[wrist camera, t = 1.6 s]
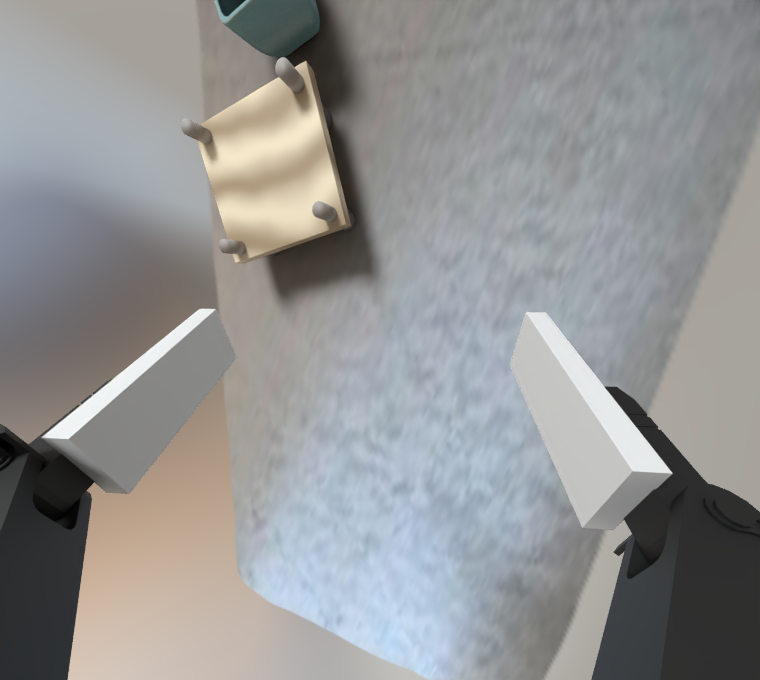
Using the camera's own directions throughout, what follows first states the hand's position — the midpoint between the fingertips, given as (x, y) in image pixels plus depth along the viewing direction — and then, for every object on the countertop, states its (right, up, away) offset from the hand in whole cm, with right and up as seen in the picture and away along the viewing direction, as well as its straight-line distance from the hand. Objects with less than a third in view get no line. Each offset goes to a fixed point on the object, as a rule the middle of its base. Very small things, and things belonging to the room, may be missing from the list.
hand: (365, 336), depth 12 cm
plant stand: (-11, +20, +25) cm, 34 cm away
